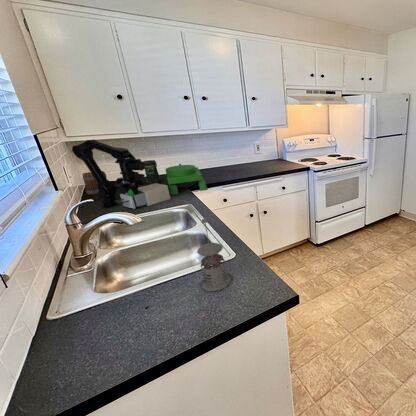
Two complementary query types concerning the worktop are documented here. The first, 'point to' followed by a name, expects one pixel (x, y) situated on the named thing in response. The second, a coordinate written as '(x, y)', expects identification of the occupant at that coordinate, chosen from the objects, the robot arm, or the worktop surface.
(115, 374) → the worktop surface
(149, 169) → the coffee jar
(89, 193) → the mug
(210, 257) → the french press
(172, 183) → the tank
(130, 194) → the polyhedron
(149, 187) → the grey box
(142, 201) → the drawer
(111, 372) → the worktop surface
